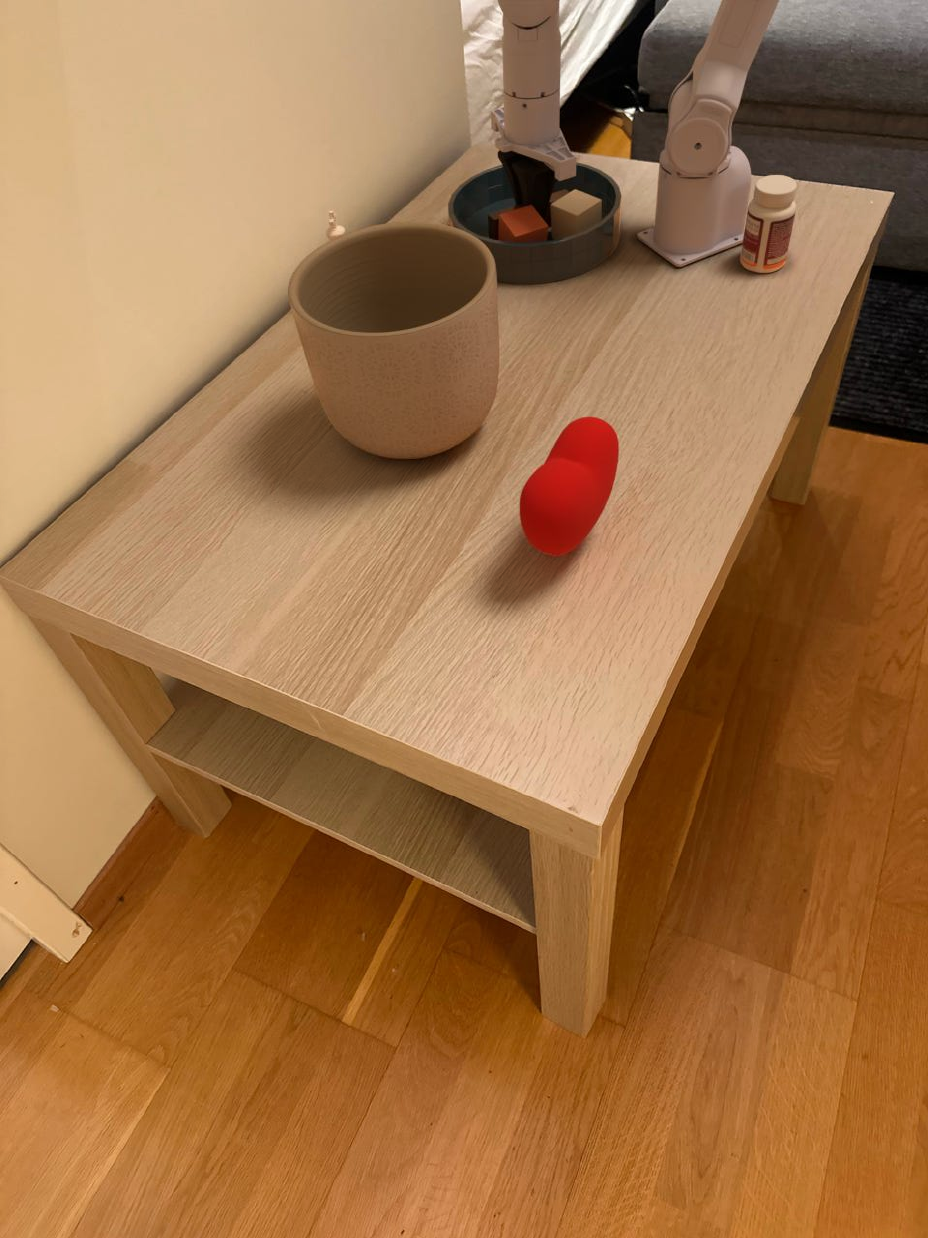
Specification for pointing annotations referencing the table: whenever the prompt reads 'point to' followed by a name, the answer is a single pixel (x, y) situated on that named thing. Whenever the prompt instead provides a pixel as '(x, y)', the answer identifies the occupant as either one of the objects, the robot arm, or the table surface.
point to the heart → (570, 487)
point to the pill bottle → (769, 224)
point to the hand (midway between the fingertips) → (532, 217)
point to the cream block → (574, 214)
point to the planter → (400, 335)
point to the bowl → (552, 255)
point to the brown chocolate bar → (494, 217)
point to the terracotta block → (522, 226)
